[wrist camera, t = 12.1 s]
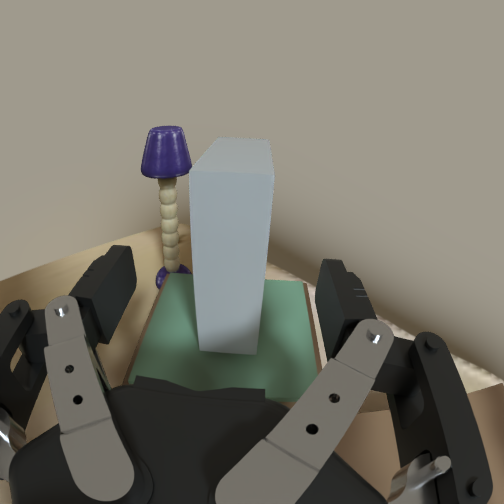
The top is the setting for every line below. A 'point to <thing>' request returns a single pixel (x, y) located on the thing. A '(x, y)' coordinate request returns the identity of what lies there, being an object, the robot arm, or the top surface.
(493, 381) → the top surface
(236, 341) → the block
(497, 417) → the brown wooden flat slab
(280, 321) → the plinth
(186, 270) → the toy lamp
